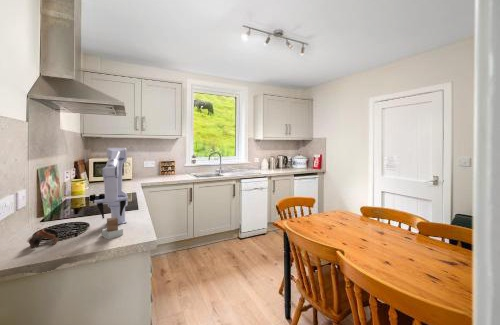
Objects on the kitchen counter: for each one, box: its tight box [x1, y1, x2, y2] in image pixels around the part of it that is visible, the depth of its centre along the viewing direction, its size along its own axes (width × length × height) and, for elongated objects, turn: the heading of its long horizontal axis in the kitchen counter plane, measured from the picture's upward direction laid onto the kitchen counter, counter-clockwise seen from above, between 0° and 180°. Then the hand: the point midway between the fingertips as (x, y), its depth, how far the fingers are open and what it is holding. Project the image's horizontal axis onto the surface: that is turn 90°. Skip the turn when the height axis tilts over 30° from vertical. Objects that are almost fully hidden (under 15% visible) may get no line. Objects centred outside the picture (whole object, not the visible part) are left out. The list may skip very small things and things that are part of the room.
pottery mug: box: [28, 227, 60, 249], centre depth 107 cm, size 12×10×8 cm
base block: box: [101, 226, 124, 240], centre depth 120 cm, size 7×7×4 cm
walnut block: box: [106, 217, 119, 232], centre depth 119 cm, size 4×4×6 cm
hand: (112, 216), depth 119 cm, fingers open, 7 cm apart
